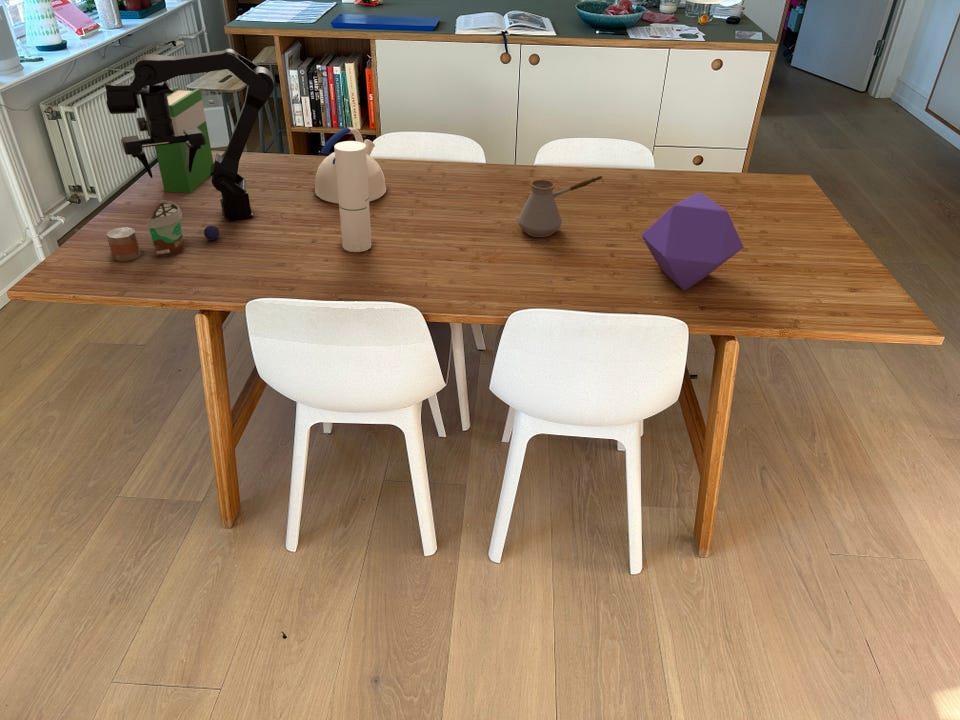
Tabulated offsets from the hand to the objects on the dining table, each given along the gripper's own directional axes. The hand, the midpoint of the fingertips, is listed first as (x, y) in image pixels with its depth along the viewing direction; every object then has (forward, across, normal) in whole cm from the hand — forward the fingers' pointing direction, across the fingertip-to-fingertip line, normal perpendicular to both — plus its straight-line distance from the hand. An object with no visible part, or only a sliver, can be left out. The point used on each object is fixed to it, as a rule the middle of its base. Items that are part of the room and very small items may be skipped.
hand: (170, 174), depth 187 cm
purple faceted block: (+12, -97, +85) cm, 130 cm away
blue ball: (+12, -4, +16) cm, 20 cm away
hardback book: (+12, -8, -26) cm, 30 cm away
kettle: (+12, -47, +1) cm, 49 cm away
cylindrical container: (+12, -35, +35) cm, 51 cm away
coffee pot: (+12, -85, +50) cm, 99 cm away
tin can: (+12, +16, +16) cm, 25 cm away
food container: (+12, +5, +17) cm, 21 cm away
